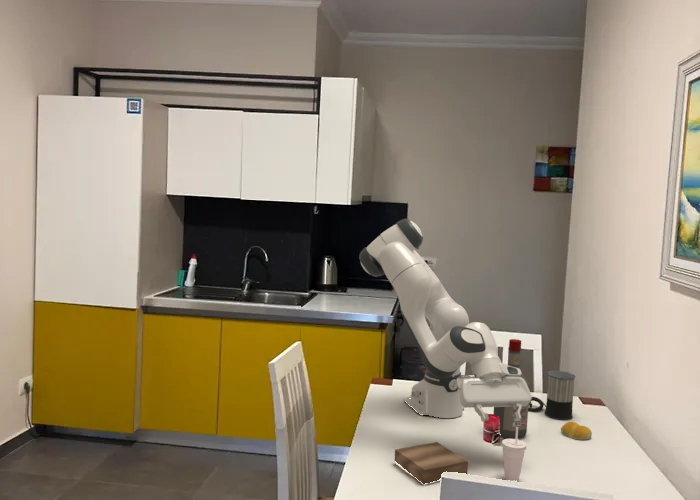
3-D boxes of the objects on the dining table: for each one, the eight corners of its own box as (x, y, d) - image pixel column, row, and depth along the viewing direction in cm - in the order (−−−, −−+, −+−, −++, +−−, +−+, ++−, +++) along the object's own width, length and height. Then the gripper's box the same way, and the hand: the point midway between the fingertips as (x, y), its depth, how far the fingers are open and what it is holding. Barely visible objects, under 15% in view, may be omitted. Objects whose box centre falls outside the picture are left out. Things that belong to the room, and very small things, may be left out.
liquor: (530, 437, 195) (536, 343, 192) (506, 440, 191) (512, 344, 189) (512, 427, 203) (518, 336, 201) (488, 430, 200) (494, 337, 197)
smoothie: (520, 486, 160) (523, 433, 159) (495, 479, 164) (499, 427, 163) (527, 477, 166) (530, 426, 165) (503, 471, 169) (506, 420, 168)
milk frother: (576, 421, 211) (579, 378, 210) (529, 419, 212) (532, 376, 211) (563, 407, 226) (566, 367, 224) (519, 405, 226) (522, 365, 225)
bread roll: (583, 443, 192) (584, 430, 192) (557, 434, 199) (558, 422, 199) (596, 437, 198) (597, 425, 198) (570, 428, 205) (571, 416, 204)
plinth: (394, 463, 171) (395, 449, 171) (436, 455, 178) (436, 442, 177) (423, 485, 159) (424, 469, 158) (467, 475, 165) (468, 461, 165)
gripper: (458, 369, 174) (469, 416, 165) (525, 369, 178) (540, 414, 169) (451, 380, 178) (462, 426, 170) (517, 379, 183) (531, 424, 174)
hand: (501, 420), depth 169 cm, fingers open, 8 cm apart
